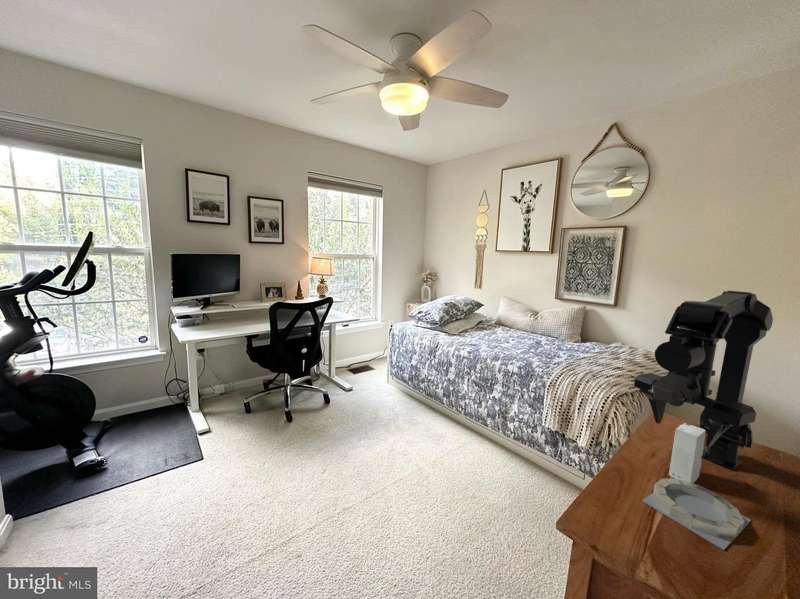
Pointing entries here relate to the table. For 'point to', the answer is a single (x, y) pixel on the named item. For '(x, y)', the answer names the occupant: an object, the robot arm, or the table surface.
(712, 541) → the grey base plate
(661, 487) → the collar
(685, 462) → the skincare box
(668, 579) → the table surface
